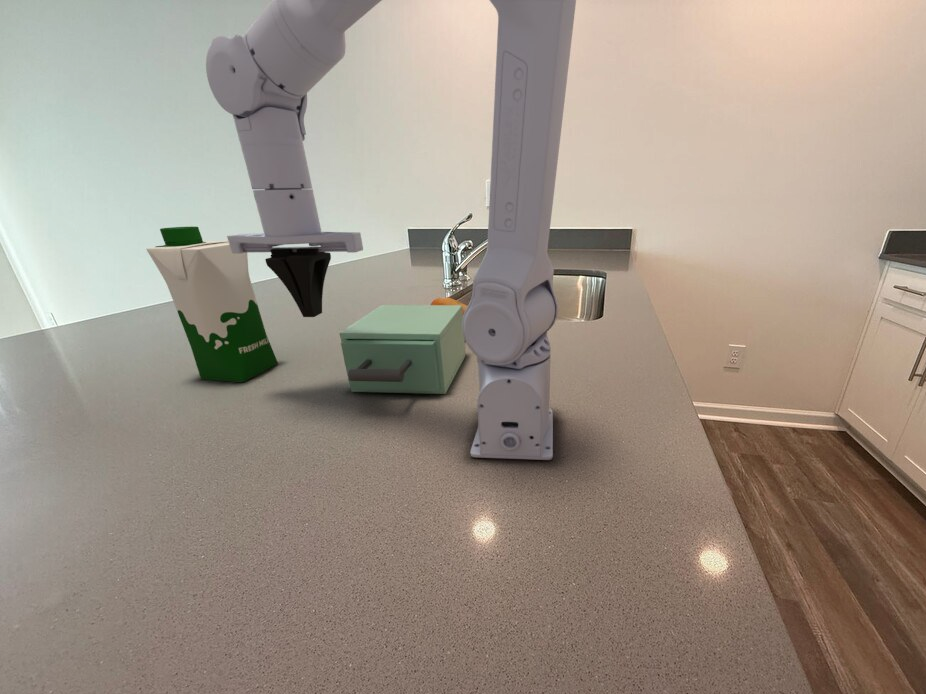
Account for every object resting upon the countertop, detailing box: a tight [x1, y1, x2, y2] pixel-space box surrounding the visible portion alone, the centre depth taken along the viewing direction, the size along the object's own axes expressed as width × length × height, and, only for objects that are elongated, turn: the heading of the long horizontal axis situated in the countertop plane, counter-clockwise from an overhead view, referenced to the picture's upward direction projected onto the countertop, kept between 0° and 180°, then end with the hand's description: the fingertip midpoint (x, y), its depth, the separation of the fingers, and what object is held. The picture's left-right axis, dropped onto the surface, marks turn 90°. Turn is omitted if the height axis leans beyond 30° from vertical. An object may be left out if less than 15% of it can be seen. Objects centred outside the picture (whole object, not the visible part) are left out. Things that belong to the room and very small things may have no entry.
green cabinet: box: [339, 304, 467, 395], centre depth 57 cm, size 14×13×8 cm
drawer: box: [340, 339, 440, 392], centre depth 53 cm, size 17×11×6 cm, turn 175°
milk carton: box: [146, 226, 279, 383], centre depth 56 cm, size 9×9×20 cm
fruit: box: [430, 296, 468, 315], centre depth 72 cm, size 8×8×8 cm
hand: (312, 314), depth 49 cm, fingers closed
